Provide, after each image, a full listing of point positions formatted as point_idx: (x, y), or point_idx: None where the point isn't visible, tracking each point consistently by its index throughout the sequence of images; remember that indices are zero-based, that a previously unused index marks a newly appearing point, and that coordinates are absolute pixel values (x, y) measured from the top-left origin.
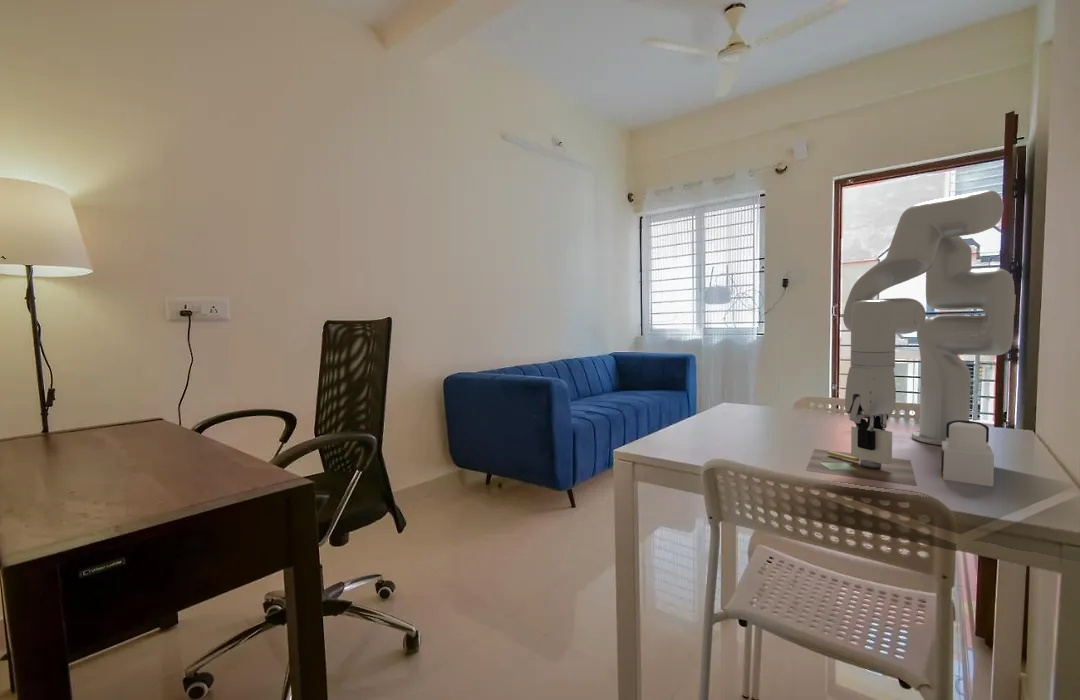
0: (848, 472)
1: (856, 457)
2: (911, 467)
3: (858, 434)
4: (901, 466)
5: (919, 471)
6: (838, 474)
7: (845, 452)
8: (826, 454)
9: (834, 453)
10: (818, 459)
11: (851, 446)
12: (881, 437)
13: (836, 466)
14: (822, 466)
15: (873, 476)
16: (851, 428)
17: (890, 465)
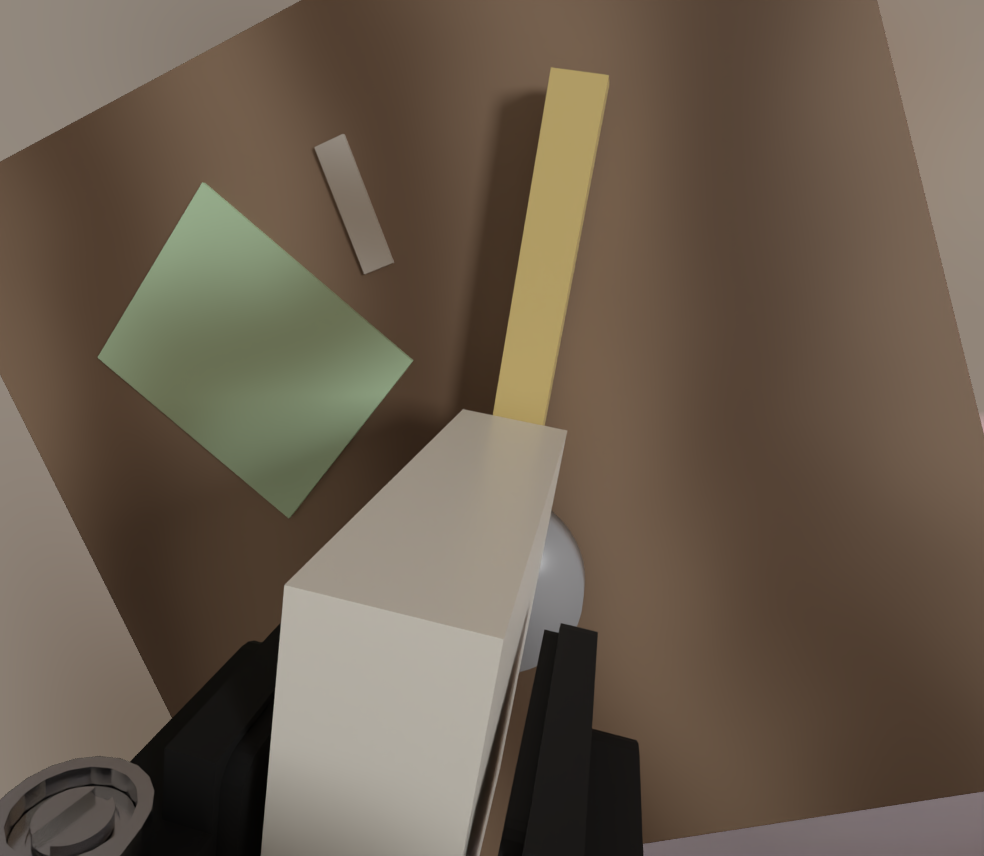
0: (165, 490)
1: (747, 352)
2: (743, 823)
3: (233, 683)
4: (711, 758)
5: (854, 816)
6: (49, 454)
7: (907, 158)
8: (612, 37)
9: (535, 174)
10: (327, 91)
11: (430, 444)
12: None
13: (224, 353)
14: (135, 253)
15: (224, 660)
16: (315, 557)
17: (675, 682)
